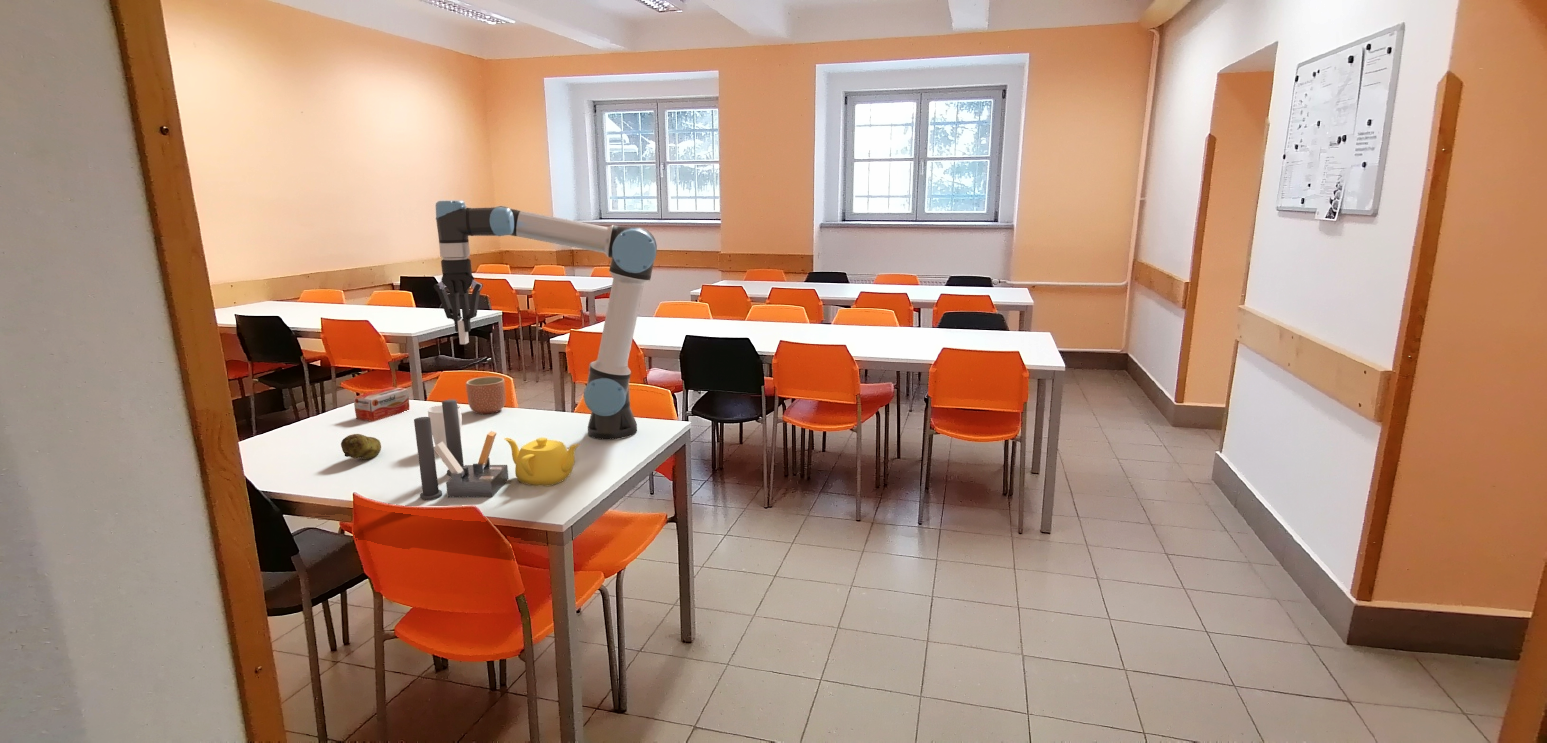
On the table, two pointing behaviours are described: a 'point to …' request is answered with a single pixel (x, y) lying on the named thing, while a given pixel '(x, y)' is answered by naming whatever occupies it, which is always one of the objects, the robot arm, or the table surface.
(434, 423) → the cup
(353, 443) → the potato
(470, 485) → the breaker panel
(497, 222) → the robot arm
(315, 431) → the table surface
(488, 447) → the orange paddle
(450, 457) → the ivory paddle
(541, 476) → the teapot
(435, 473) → the cable post
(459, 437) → the post
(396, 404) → the medicine box
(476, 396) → the planter
